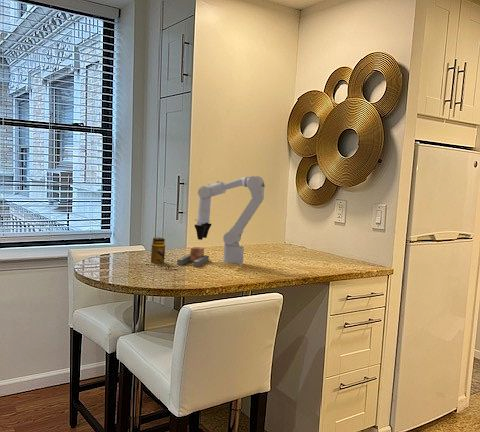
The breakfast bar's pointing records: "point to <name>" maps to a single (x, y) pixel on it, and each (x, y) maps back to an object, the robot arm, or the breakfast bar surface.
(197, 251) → the block
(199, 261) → the chute
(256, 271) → the breakfast bar surface
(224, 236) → the robot arm
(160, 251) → the condiment
